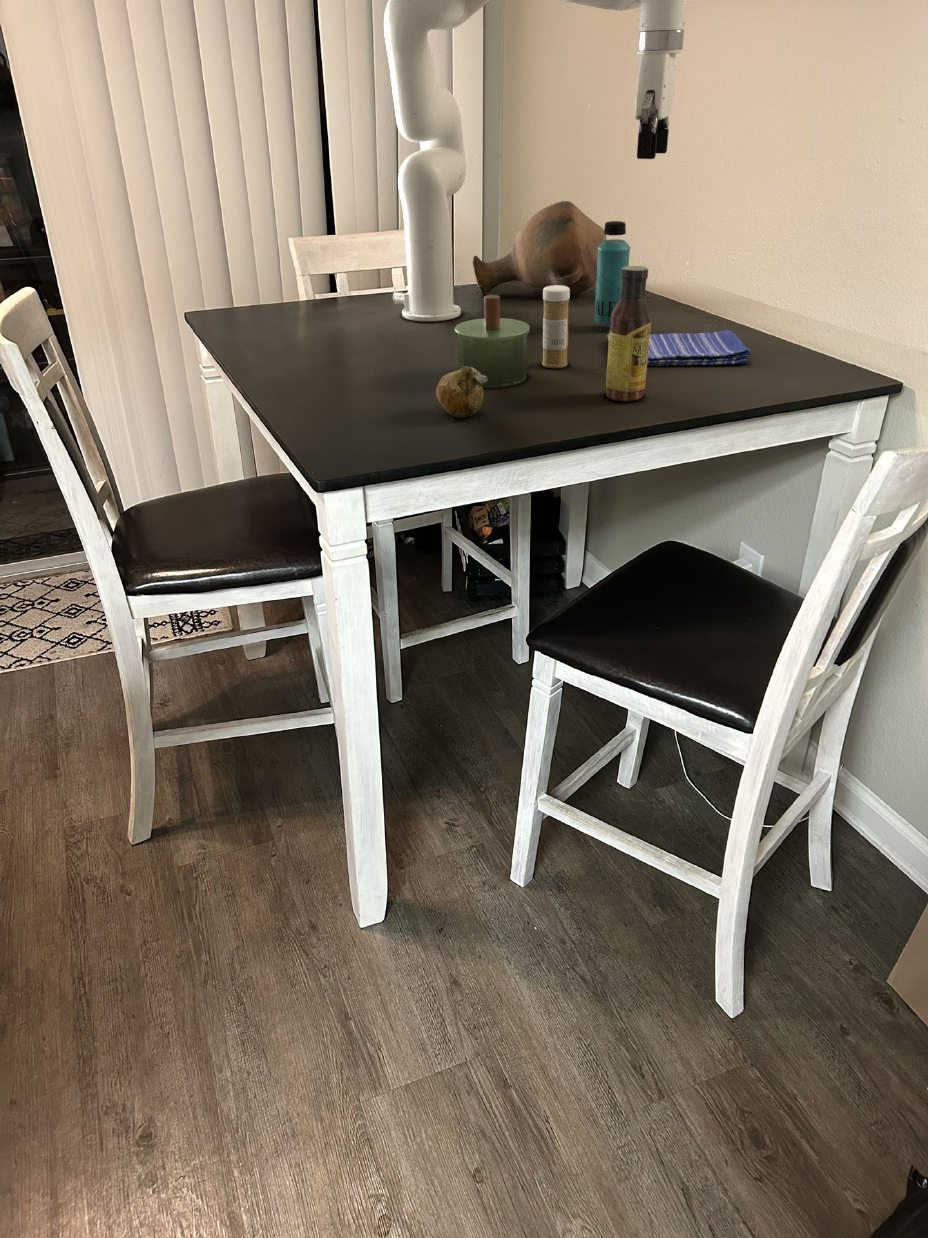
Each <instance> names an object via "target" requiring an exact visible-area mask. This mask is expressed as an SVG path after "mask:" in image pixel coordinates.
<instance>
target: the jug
mask: <svg viewBox="0 0 928 1238" xmlns="http://www.w3.org/2000/svg"><path fill="white" fill-rule="evenodd" d="M604 229H605V228H603V227H602V226H601V225H599V224H597V223H596V222H595V221H594V220H592V219H591V218H590V217H589V216H587V215H586V214H585V213H584V212H583V211H582V210H581V209H580V208H579V207H578V206H577V205H575V204H574V203H573V202H572V201H569V200H562V201H558V202H555V203H552V204H550V205H548V206H546V207H544V208H542V209H540V210H539V211H538V212H536V213H534V214H533V215H532V216H531V217H530V218H528V220H527V221H525V223H524V224H523V225H521V228H520V229H519V231H518V233H517V234H516V237H515V240H514V244H513V247H512V249H511V251H510V252H508V253H507V254H506V255H504V256H503V257H501V258H498V259H497V260H494V261H490V262H484V261H483V260H481V259H480V258H479V257H478V256H477V255H474V256H473V257H472V267H473V268H472V269H473V274H474V278H475V281H476V285H477V287H478V289H479V292H480V293H481V294H482V297H484V296H487V295H489V293H491V292H492V290H494V289H495V288H496V287H498V286H499V285H502V284H505V283H508V282H513V281H515V282H516V281H517V282H518V281H519V282H522V283H523V284H524V285H525V286H526V287H527V288H528V289H530V290H531V291H533V292H534V293H536V294H539V295H542V296H543V289H544V288H545V287H547V286H554V285H560V286H566V287H569V289H570V296H574V295H578V294H581V293H583V292H586V291H587V290H589V289H591V288H592V287H593V286H594V285H596V277H597V276H596V274H597V272H596V268H597V265H596V264H597V260H598V246H599V245H600V244H601V243H602V242H603V241H604V240H607V237H608V236H607V235H605V234H604Z"/></svg>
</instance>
